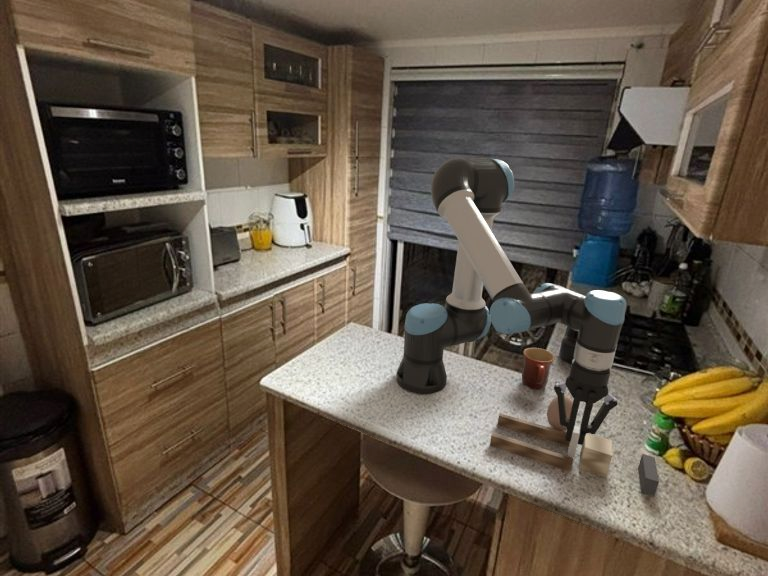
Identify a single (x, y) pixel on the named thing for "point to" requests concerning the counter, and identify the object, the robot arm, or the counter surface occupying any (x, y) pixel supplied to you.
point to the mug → (536, 367)
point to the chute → (530, 450)
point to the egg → (554, 413)
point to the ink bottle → (568, 345)
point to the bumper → (648, 475)
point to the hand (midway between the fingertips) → (571, 452)
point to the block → (596, 455)
